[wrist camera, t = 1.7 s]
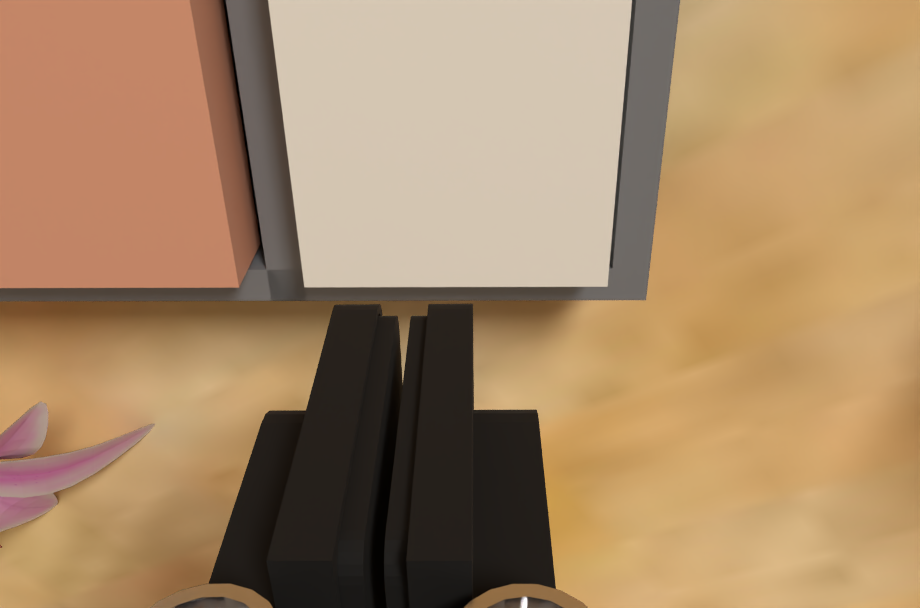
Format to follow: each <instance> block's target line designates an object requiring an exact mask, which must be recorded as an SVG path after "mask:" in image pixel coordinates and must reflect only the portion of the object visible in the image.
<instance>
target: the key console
mask: <svg viewBox="0 0 920 608" xmlns="http://www.w3.org/2000/svg"><path fill="white" fill-rule="evenodd" d="M223 1H224V8H225V14H226V21H227V27H228V34H229V40H230V47H231V53H232V60H233V67H234V73H235V80H236V86H237V93H238V99H239V106H240V112H241V119H242V125H243V132H244V139H245V145H246V152H247V158H248V165H249V171H250V178H251V184H252V191H253V198H254V204H255V211H256V217H257V224H258V230H259V237H260V246H259V248H258V250H257V252H256V254H255V256H254V258H253V260H252V262H251V264H250V266H249V268H248V270H247V272H246V274H245V276H244V278H243V281H242V283H241V285H240V287H239V288H0V301H409V300H646V295H647V286H648V277H649V268H650V260H651V251H652V242H653V233H654V225H655V216H656V207H657V198H658V189H659V181H660V172H661V163H662V154H663V145H664V137H665V128H666V119H667V110H668V102H669V93H670V84H671V75H672V66H673V58H674V49H675V40H676V31H677V23H678V14H679V5H680V0H632V7H631V19H630V31H629V42H628V54H627V66H626V77H625V89H624V101H623V112H622V124H621V135H620V147H619V159H618V170H617V182H616V194H615V205H614V217H613V229H612V240H611V252H610V264H609V275H608V287H304V280H303V272H302V264H301V256H300V249H299V241H298V233H297V225H296V217H295V209H294V201H293V193H292V185H291V178H290V170H289V162H288V154H287V146H286V138H285V130H284V122H283V114H282V106H281V99H280V91H279V83H278V75H277V67H276V59H275V51H274V43H273V35H272V27H271V20H270V12H269V4H268V0H223Z"/></svg>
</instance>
